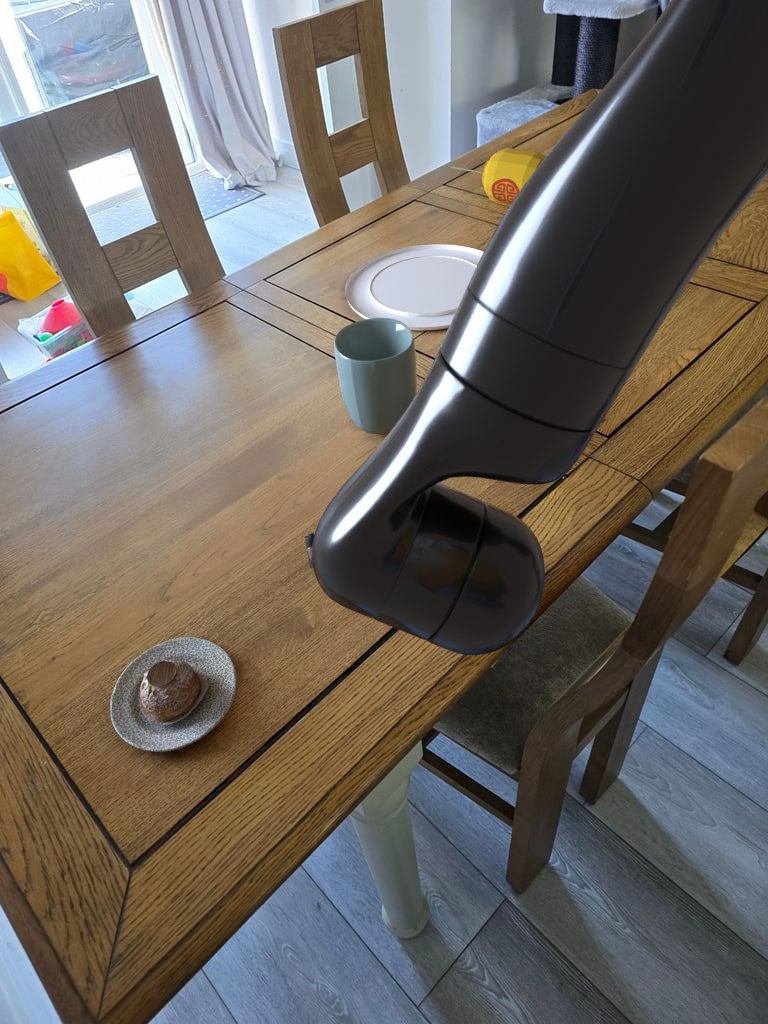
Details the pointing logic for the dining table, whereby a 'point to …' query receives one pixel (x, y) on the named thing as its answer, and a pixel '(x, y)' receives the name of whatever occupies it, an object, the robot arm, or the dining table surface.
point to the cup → (376, 372)
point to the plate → (413, 285)
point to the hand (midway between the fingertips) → (385, 533)
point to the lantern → (507, 173)
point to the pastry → (173, 694)
